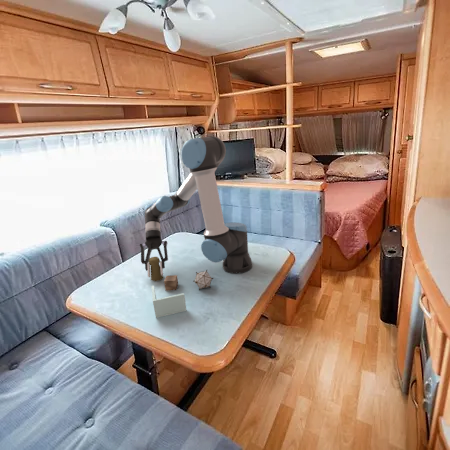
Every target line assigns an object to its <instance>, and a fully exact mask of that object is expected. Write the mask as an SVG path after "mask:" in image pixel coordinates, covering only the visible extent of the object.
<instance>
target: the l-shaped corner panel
mask: <svg viewBox="0 0 450 450" xmlns="http://www.w3.org/2000/svg"><path fill="white" fill-rule="evenodd" d="M150 288H151V297H152V303H153V309H154V315H155V319H157V318H162V317H165V316H169V315H174V314H179V313H182V312H186V311H187V305H186V297H185V293H184V292H183V293H178V294H174V295H170V296H165V297H159V298H157V295H156V288H155V285H151V287H150Z"/></svg>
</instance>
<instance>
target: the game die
mask: <svg viewBox="0 0 450 450" xmlns="http://www.w3.org/2000/svg"><path fill="white" fill-rule="evenodd" d="M195 273H196V276H195V278H194V280H193V281H192V282H194V283H195V284H196V285H197V287H198V288H199V289H198V291H200V290H201V289H205V288H210V289H211V286H210V285H211V282H212V280H214V277H211V274H209V273H208V269H206V270H205V271H200V272H198V271H196V272H195Z"/></svg>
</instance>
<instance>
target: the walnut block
mask: <svg viewBox="0 0 450 450" xmlns="http://www.w3.org/2000/svg"><path fill="white" fill-rule="evenodd" d="M163 283H164V290H165V291H166V292H168V291H177V289H178V287H179V278H178V275H177V274H173V275H166V276H165V278H164V280H163Z"/></svg>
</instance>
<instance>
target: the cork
mask: <svg viewBox="0 0 450 450" xmlns="http://www.w3.org/2000/svg"><path fill="white" fill-rule="evenodd" d="M160 261H161V258H159V257H158V256H150V259H149V264H150V281H152V282H158V281H162V280H163V279H164V275H163V276H161V271H160Z"/></svg>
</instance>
